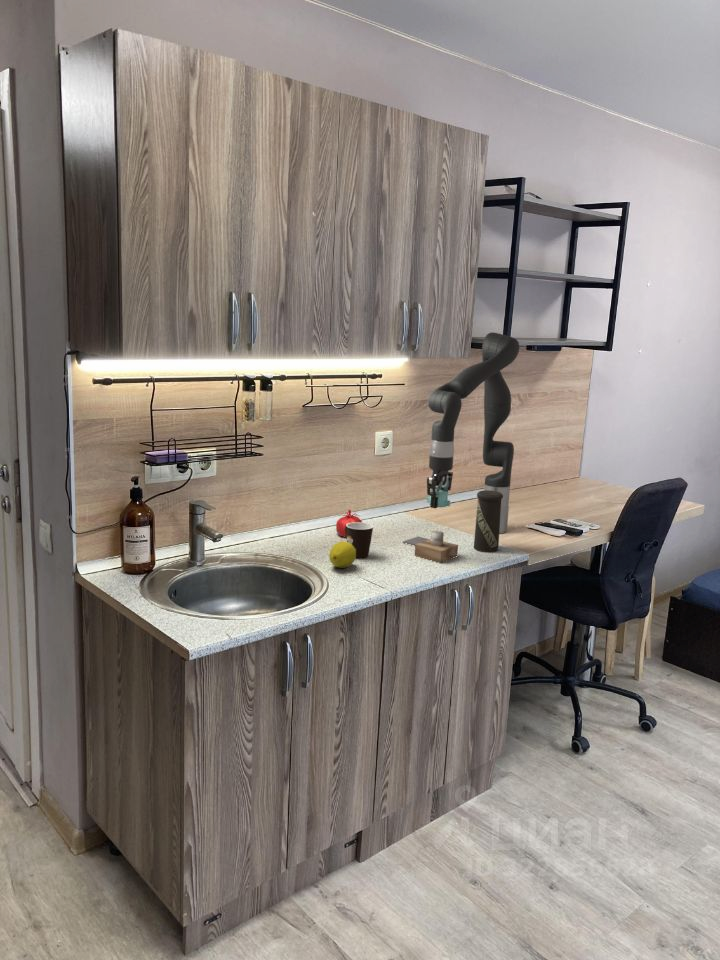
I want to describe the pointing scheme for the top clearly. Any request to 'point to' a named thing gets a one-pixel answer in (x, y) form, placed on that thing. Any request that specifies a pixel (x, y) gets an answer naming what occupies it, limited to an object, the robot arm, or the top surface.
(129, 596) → the top surface
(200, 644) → the top surface
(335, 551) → the lemon
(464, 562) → the top surface
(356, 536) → the coffee mug
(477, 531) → the container
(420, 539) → the coaster
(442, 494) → the teal rounded tabbed figurine
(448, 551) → the post block
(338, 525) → the pomegranate
